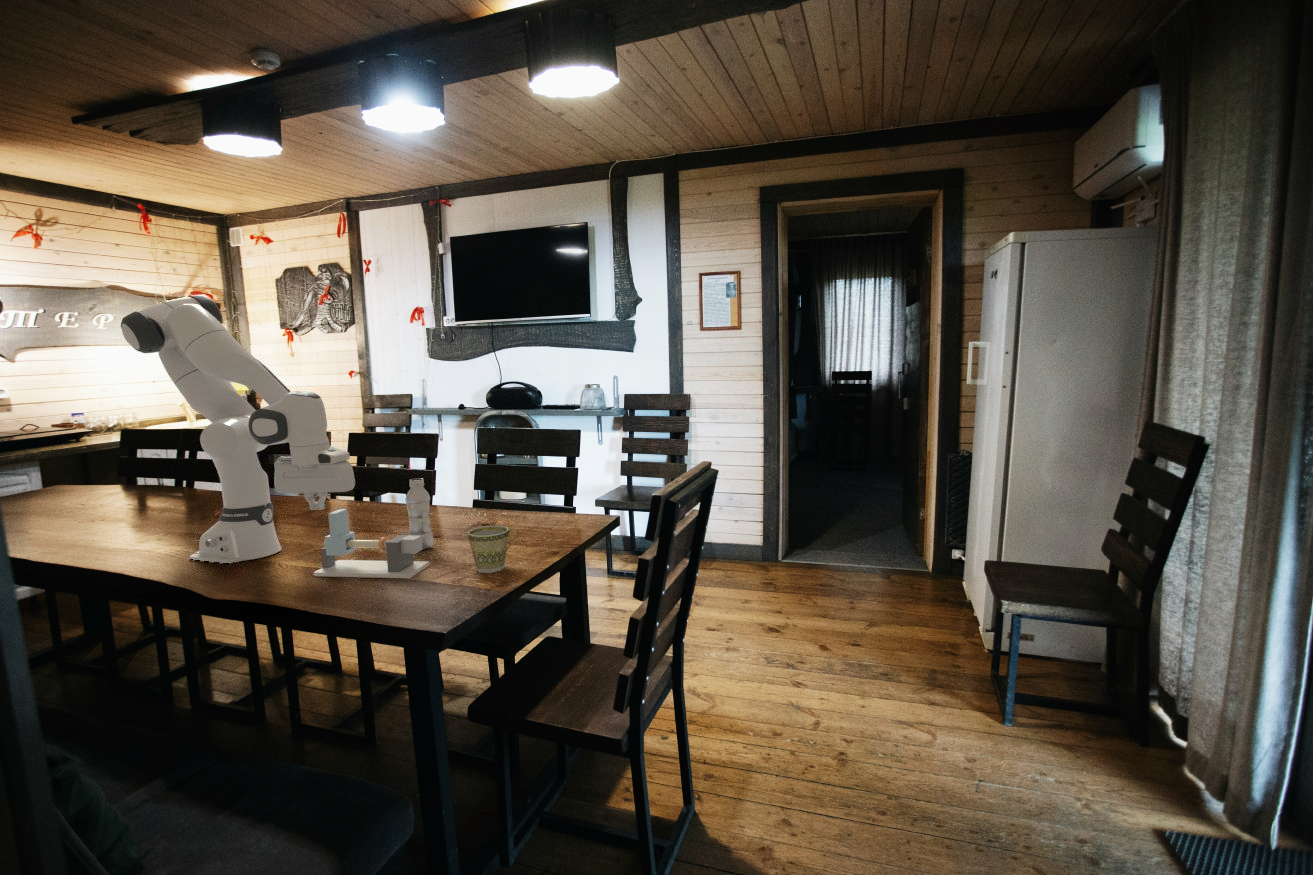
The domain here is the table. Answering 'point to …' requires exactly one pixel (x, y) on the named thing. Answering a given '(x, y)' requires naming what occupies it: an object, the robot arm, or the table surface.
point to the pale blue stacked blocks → (338, 534)
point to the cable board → (394, 567)
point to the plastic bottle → (419, 512)
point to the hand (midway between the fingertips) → (317, 509)
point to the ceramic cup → (490, 547)
